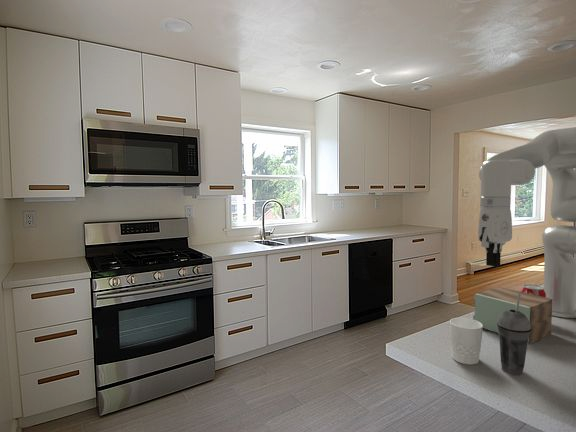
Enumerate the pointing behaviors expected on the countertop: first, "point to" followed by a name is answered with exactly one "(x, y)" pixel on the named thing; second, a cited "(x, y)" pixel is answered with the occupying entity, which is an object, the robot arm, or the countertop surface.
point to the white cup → (465, 340)
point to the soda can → (534, 290)
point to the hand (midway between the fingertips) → (493, 265)
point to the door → (494, 310)
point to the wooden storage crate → (538, 310)
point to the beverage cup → (513, 339)
